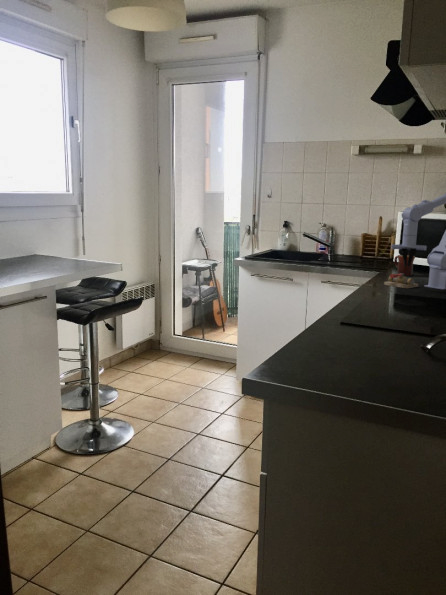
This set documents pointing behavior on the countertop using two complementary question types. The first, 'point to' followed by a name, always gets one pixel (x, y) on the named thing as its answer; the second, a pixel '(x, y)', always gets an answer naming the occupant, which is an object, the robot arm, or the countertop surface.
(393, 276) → the valve lever
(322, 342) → the countertop surface
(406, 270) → the mug
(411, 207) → the robot arm
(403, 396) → the countertop surface
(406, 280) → the valve board
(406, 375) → the countertop surface
